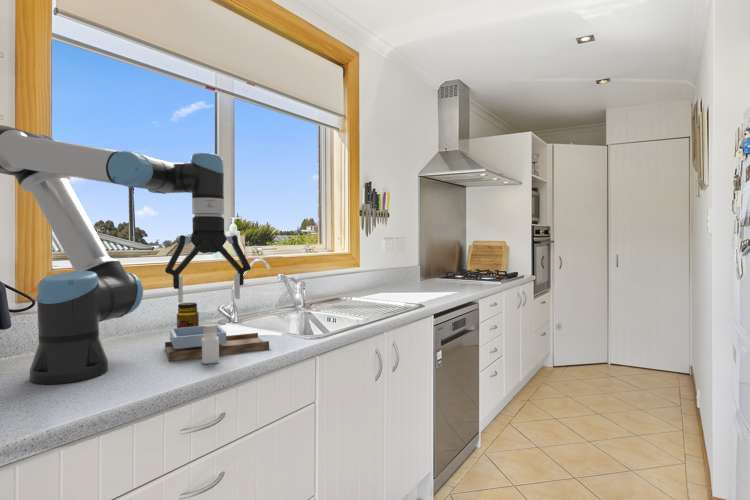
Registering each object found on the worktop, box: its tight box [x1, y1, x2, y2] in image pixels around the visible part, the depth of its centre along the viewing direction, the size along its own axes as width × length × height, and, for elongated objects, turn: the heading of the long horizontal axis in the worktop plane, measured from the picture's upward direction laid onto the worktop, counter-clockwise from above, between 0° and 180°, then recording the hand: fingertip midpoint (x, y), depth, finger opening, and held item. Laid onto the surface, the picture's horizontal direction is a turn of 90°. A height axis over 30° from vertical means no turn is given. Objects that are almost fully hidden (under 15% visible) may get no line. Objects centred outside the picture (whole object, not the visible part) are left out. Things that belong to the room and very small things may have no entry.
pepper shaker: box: [201, 323, 220, 365], centre depth 116 cm, size 4×4×10 cm
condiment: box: [176, 302, 200, 328], centre depth 138 cm, size 7×8×12 cm
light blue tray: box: [169, 324, 227, 351], centre depth 127 cm, size 13×13×5 cm
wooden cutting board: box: [164, 332, 270, 362], centre depth 129 cm, size 26×14×2 cm, turn 119°
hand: (209, 300), depth 116 cm, fingers open, 13 cm apart
